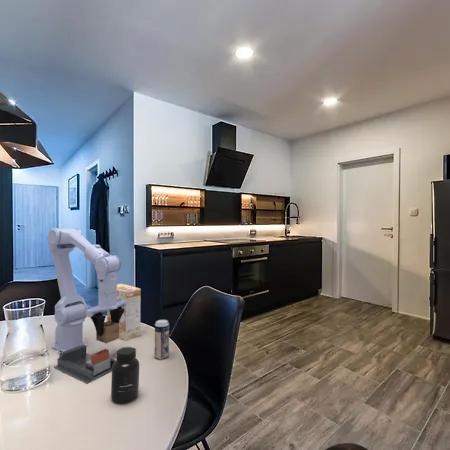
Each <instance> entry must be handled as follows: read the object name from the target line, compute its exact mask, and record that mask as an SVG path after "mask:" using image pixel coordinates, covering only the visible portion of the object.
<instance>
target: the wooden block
mask: <svg viewBox="0 0 450 450" xmlns="http://www.w3.org/2000/svg"><path fill="white" fill-rule="evenodd" d="M95 333H96V334H95V335H96V336H95V337H96V338H95V340H96V341H99V342H101V343H104V344H108V343H110V342H113V341H116V340H117V339H119V323H116V322H112V321H107V320H106V321H104V327H103V336H99V335H97V332H95Z"/></svg>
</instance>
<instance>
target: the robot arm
mask: <svg viewBox="0 0 450 450" xmlns="http://www.w3.org/2000/svg"><path fill="white" fill-rule="evenodd" d="M46 239H47V245H48V250H49V252H50V253H51V254H52V259H53V264H54V265H53V266H54V269H55V275H56V279H57V284H58V290H59V294H60V299H59V300H58V301H57V303H55V306H54V321H55V322H56V324H57V325H56V327H55V331H54V335H55V336H54V339H55V341H54V345H53V346H52V349H54V350H57V351H60V352H64V351H67V350H69V349H72V348H75V347H78V346H80V345H86V347H88V346H89V345H88V343H85V342H84V341H83V339H84V338H83V333H84V330H83V329H84V328H83V327H84V325H83V323H84V322H85V321H86V320H85V319H86V318H87V317H88V318H90V319H91V321H92V323H93V325H94V329H95V331H96V332H97V335H99V336H103V327H104V322H106V321H105V320H106V319H107V317H106V316H107V315H103V313H106V312H107V311H110V316H111V321H112V322H116V323H119V321H120V318H121V316H122V314H123V313H124V308H122V307H125V306H127V301H125V300H121V301H117V284H118V272H119V271H120V270H121V268H122V261H121V258H120V257H119V256H118V255H115V254H113V255H112V254H110V253H109V252H107V251H106V250H105V249H103V248H102V247H101V245H100V244H92V243H91V242H90V241H89V240H88V239H87V238H86V237H85V236H83V232H82V230H80V229H79V228H78V227H77V228H76V227H73V228H63V227H61V228H57V227H53V228H51V229H50V230H49V232H48V234H47V236H46ZM77 248H78V249H79V250H80V251H82V252H83V253H84V255H83V256H84V258H85V259H86V260H88V261H89V262H90V263H91V264H92V265H94V269H95V272H96V276H97V277H96V278H97V279H98V303H97V304H98V305H95V306H93V307H91V308H89V307H88V305H87V303H86V301H85V298H84V297H83V296H81V295H79V294H78V292H77V288H76V284H75V278H74V274H73V269H72V264H71V259H70V253H71V252H73V251H74V250H75V249H77ZM96 332H95V333H96Z"/></svg>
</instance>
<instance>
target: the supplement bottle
mask: <svg viewBox="0 0 450 450" xmlns="http://www.w3.org/2000/svg"><path fill="white" fill-rule="evenodd" d="M115 357H116V358H115V360H116V361H115V362H114V363H113V365H112V371H111V380H110V381H111V388H110V399H111V401H112V402H114V403H115V404H119V405H122V404H128V403H129V404H130V402H131V403H132V402H133V401H134V400H135V399H136V398H137V397H138V396H139V389H140V361H139V359H138V358H137V350H136V348H135V347H131V346H126V347H122V348H119V349H118V350H117V351H116V356H115Z"/></svg>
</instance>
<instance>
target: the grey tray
mask: <svg viewBox="0 0 450 450" xmlns="http://www.w3.org/2000/svg"><path fill="white" fill-rule="evenodd" d="M91 355H92V353H91V354H90V353H88V352H87V346H86V345H80V346H78V347H75V348H72V349H69V350H67V351H64V352H62V351H60V352H59V353H58V358H56V359H57V360H56V361H57V364H56V365H55V366H54V367H53V368H54V369H55V370H58V371H59V372H62V373H64V374H66V375H68V376H70V377H73V379H74V378H75V379H76V380H78V381H80V382H83V383H85V384H90V383H92V382H93V381H96V380H97V379H99V378H101V377H103V376H105V375H107V374H110V373H112V365H113V363H114V362H115V361H116V359H113V358H112V357H110V368H108V369H106V370H104V371H102V372H100V373H98V374H96V375H94V372H93V371H91V370H89V369H86V362H87V361H89V360H91Z"/></svg>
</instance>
